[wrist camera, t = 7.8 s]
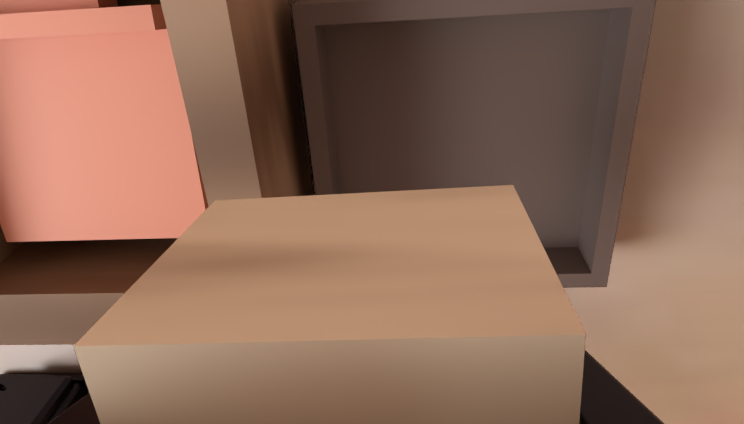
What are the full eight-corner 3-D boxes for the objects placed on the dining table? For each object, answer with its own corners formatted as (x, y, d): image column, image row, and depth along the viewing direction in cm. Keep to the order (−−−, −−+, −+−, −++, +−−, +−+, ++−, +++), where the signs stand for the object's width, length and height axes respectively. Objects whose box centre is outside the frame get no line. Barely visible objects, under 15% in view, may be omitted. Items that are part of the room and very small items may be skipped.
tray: (586, 248, 22) (606, 287, 19) (336, 253, 23) (328, 290, 20) (625, -26, 17) (658, -18, 15) (306, -6, 18) (291, 4, 16)
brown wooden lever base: (318, 236, 22) (287, 342, 17) (57, 242, 23) (-56, 344, 18) (231, -435, 13) (99, -700, 8) (-192, -378, 14) (-586, -575, 9)
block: (509, 425, 12) (560, 667, 7) (262, 426, 12) (181, 652, 8) (512, 184, 10) (585, 333, 5) (214, 200, 10) (73, 346, 6)
